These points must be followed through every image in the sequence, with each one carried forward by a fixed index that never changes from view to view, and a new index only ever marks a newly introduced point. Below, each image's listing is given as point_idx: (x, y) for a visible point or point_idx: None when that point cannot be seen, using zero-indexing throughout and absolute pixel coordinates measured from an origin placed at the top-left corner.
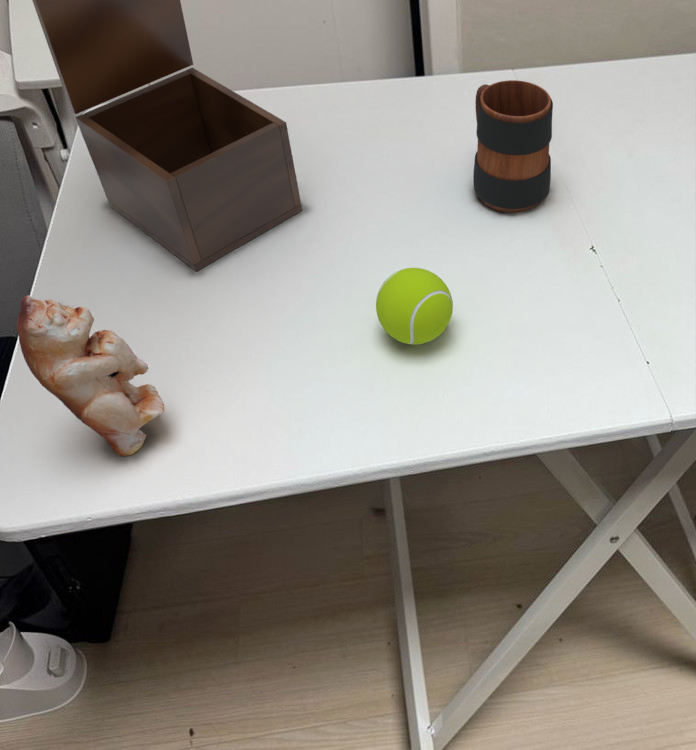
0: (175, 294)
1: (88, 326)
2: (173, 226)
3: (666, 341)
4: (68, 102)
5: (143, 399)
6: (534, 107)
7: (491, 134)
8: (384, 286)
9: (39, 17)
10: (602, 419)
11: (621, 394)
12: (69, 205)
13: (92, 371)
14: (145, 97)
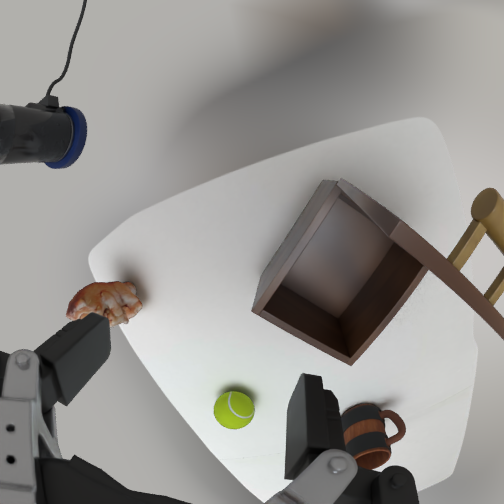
0: (235, 271)
1: None
2: (264, 278)
3: (256, 462)
4: (341, 179)
5: (129, 309)
6: (380, 453)
7: (351, 448)
8: (228, 410)
9: (360, 196)
10: (209, 446)
11: (224, 451)
12: (317, 146)
13: None
14: None
